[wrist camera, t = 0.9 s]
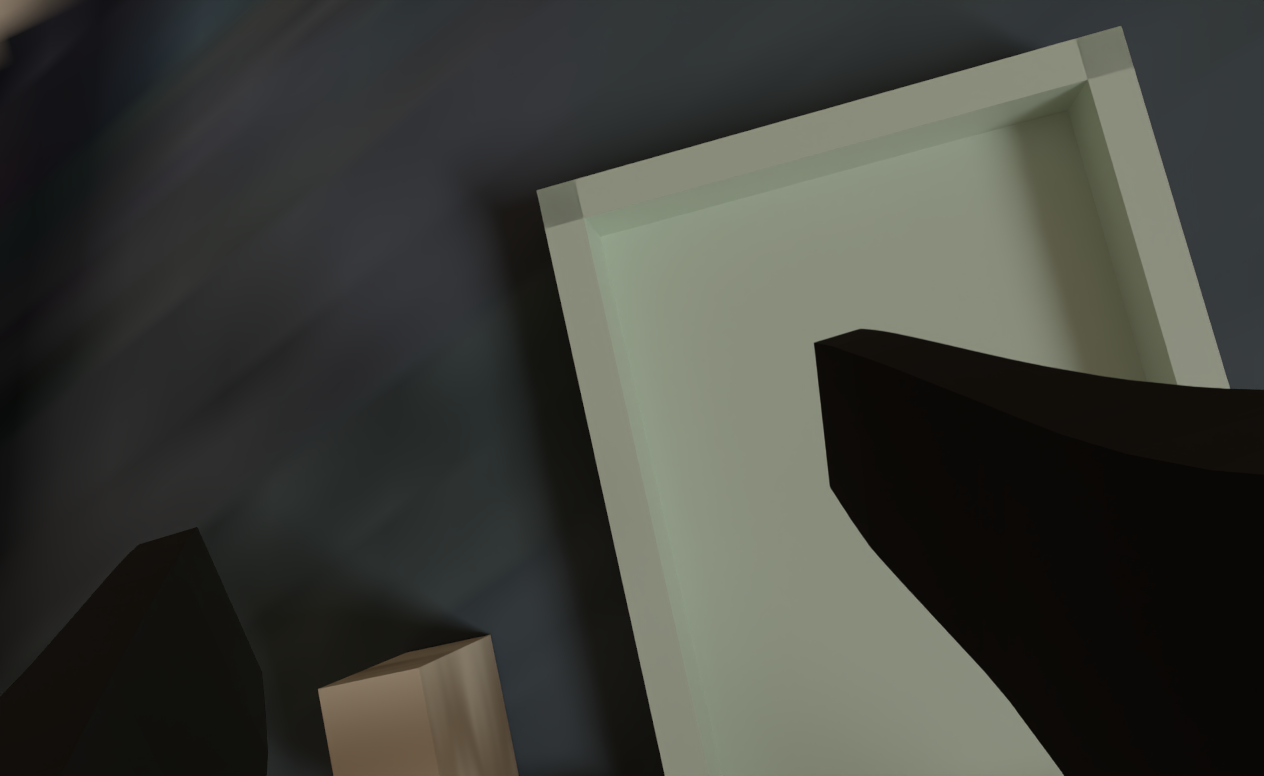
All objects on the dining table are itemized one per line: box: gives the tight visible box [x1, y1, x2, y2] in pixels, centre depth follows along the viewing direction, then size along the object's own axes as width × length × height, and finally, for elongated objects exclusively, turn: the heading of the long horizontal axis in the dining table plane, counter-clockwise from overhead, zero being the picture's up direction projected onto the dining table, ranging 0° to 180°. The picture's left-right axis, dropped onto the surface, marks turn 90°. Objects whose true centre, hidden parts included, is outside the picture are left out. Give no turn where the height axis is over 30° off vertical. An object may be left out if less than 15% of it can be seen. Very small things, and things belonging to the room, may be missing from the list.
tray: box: [536, 26, 1230, 776], centre depth 25 cm, size 19×14×2 cm
